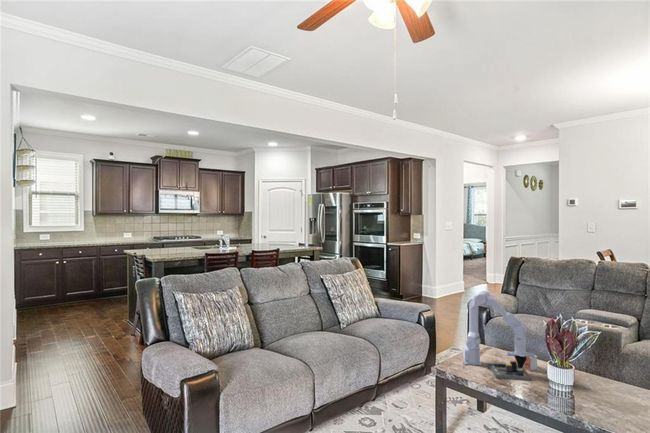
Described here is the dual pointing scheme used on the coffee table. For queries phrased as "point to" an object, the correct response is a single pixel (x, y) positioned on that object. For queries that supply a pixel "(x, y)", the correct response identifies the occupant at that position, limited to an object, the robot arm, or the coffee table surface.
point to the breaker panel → (516, 373)
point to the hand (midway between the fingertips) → (520, 369)
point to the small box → (530, 363)
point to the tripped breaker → (508, 367)
